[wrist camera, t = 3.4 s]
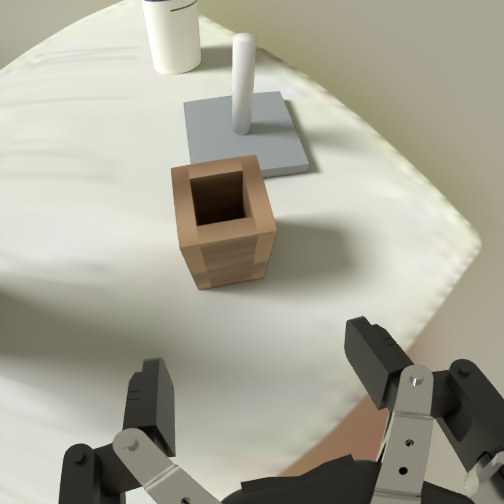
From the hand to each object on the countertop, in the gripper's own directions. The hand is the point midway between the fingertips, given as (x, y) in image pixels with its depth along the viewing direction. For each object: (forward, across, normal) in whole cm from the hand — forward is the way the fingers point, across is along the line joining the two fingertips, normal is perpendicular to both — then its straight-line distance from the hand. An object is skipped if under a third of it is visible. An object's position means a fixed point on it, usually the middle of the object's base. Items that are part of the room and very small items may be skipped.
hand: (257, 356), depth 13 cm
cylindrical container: (+40, +2, -20) cm, 44 cm away
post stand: (+27, -4, -7) cm, 28 cm away
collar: (+17, 0, +3) cm, 17 cm away
